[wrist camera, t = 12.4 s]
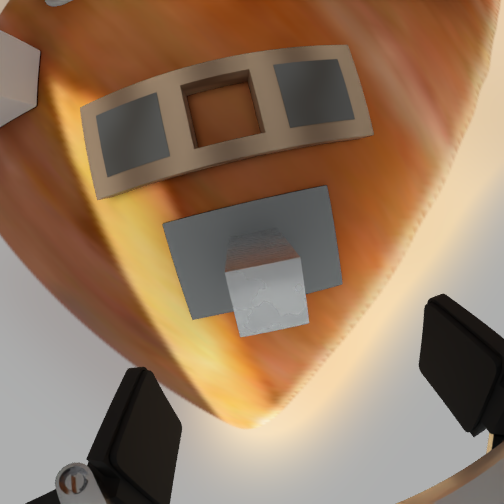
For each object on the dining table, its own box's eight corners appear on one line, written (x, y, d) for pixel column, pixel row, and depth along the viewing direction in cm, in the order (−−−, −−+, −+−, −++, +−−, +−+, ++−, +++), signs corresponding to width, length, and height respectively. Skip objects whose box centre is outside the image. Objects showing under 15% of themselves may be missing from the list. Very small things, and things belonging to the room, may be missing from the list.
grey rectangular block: (276, 227, 24) (300, 257, 15) (284, 273, 25) (309, 323, 16) (228, 237, 24) (224, 272, 15) (238, 282, 25) (240, 337, 16)
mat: (325, 185, 23) (327, 185, 23) (341, 282, 26) (342, 284, 25) (163, 223, 23) (162, 224, 23) (193, 317, 26) (192, 319, 25)
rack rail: (336, 57, 20) (348, 44, 17) (359, 138, 22) (374, 134, 19) (95, 113, 20) (79, 107, 17) (112, 196, 22) (96, 200, 19)
